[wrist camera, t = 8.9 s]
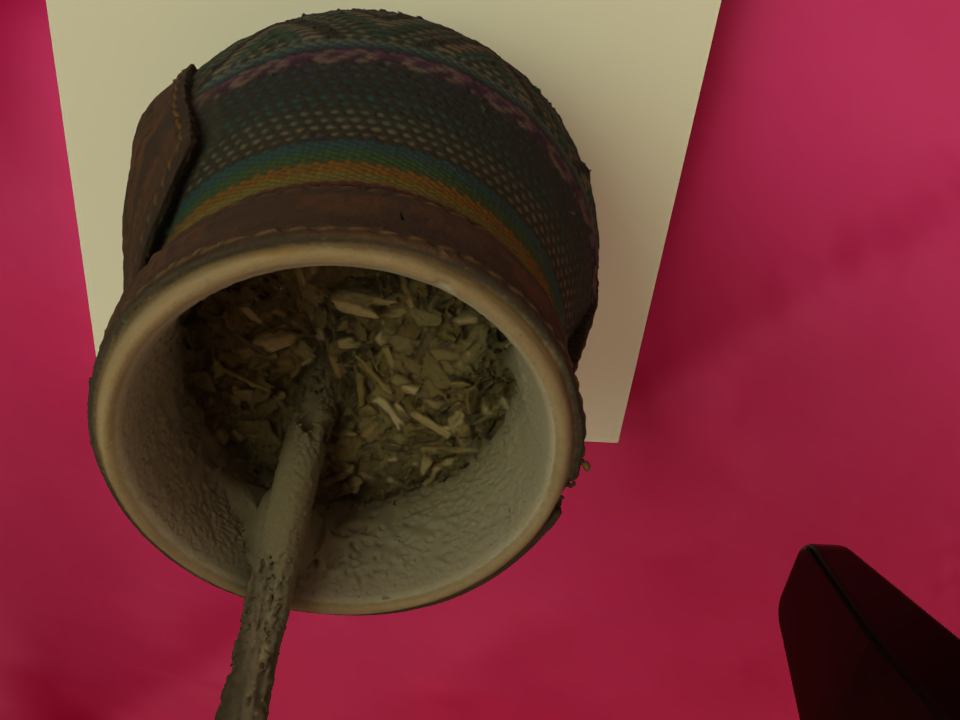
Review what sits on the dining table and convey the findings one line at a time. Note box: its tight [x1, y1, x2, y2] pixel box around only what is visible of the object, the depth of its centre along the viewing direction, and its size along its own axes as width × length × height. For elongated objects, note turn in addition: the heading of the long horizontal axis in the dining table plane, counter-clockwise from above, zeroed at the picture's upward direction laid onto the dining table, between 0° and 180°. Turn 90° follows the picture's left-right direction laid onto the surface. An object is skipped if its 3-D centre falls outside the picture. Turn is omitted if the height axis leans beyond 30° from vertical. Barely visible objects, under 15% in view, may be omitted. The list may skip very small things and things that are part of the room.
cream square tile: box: [46, 0, 721, 443], centre depth 17 cm, size 11×11×1 cm
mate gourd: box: [87, 8, 600, 720], centre depth 13 cm, size 7×8×10 cm
